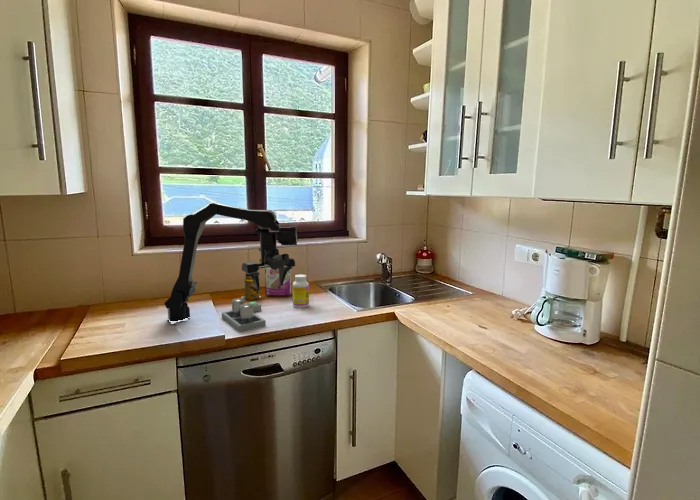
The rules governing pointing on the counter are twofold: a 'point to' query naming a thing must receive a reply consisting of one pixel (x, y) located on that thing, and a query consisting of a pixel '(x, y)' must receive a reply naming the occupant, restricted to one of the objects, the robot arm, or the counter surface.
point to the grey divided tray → (237, 324)
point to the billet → (246, 313)
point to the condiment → (250, 289)
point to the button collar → (256, 307)
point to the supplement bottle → (300, 292)
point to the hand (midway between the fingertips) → (270, 287)
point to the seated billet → (237, 307)
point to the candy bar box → (277, 283)
